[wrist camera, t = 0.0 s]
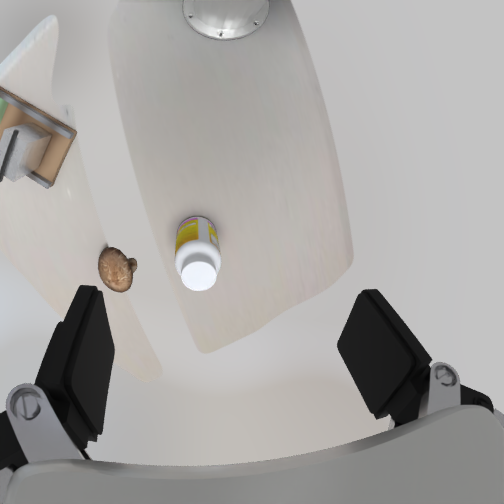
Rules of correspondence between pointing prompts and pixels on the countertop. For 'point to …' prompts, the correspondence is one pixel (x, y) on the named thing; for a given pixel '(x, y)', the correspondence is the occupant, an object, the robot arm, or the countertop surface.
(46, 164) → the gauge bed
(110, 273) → the mushroom
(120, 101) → the countertop surface
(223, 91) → the countertop surface
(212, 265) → the supplement bottle
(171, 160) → the countertop surface
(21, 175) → the block
